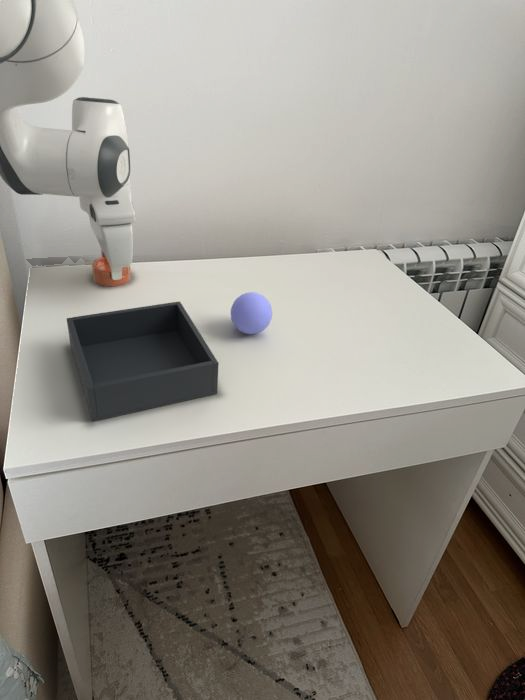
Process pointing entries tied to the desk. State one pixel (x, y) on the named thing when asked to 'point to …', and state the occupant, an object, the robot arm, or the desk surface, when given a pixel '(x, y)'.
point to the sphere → (251, 313)
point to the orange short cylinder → (108, 273)
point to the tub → (140, 359)
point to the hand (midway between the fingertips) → (111, 268)
